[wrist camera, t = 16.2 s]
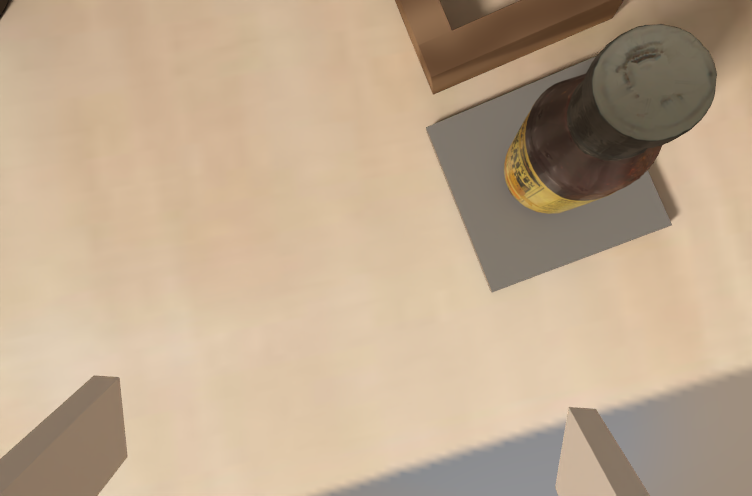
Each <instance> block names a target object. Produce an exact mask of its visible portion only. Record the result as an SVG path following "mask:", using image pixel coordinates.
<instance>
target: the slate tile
mask: <svg viewBox="0 0 752 496" xmlns="http://www.w3.org/2000/svg"><path fill="white" fill-rule="evenodd" d="M595 58H596V56H595V57H593V58H590V59H588V60H586V61H583V62H581V63H579V64H576V65H574V66H571V67H569V68H567V69H564V70H562V71H559V72H557V73H555V74H552V75H550V76H548V77H545V78H543V79H540V80H538V81H536V82H533V83H531V84H528V85H526V86H524V87H521V88H519V89H516V90H514V91H512V92H509V93H507V94H505V95H502V96H500V97H497V98H495V99H493V100H490V101H488V102H485V103H483V104H481V105H478V106H476V107H473V108H471V109H469V110H466V111H464V112H462V113H459V114H457V115H454V116H452V117H450V118H447V119H445V120H442V121H440V122H438V123H435V124H433V125H431V126H428V127H426V131H427V134H428V136H429V139H430V141H431V144H432V146H433V149H434V151H435V154H436V156H437V159H438V161H439V164H440V166H441V169H442V171H443V174H444V176H445V179H446V181H447V184H448V186H449V189H450V191H451V194H452V196H453V199H454V201H455V204H456V206H457V209H458V211H459V213H460V216H461V218H462V221H463V223H464V226H465V228H466V231H467V233H468V236H469V238H470V241H471V243H472V246H473V248H474V251H475V253H476V256H477V258H478V261H479V263H480V266H481V268H482V271H483V273H484V276H485V278H486V281H487V283H488V286H489V288H490V291H491V292H494V291H497V290H500V289H502V288H505V287H508V286H510V285H513V284H516V283H518V282H521V281H524V280H526V279H529V278H532V277H534V276H537V275H540V274H542V273H545V272H548V271H550V270H553V269H556V268H558V267H561V266H564V265H566V264H569V263H572V262H575V261H577V260H580V259H583V258H585V257H588V256H591V255H593V254H596V253H599V252H601V251H604V250H607V249H609V248H612V247H615V246H617V245H620V244H623V243H625V242H628V241H631V240H633V239H636V238H639V237H641V236H644V235H647V234H649V233H652V232H655V231H657V230H660V229H663V228H666V227H668V226H671V225H672V224H671V221H670V219H669V217H668V215H667V212H666V210H665V208H664V206H663V203H662V201H661V199H660V197H659V194H658V192H657V190H656V188H655V185H654V183H653V181H652V179H651V176H650V174H649V172H648V170H647V172H645V173H644V175H642V176H641V177H640V179H638V180H636V181H634V182H633V183H632V184H630V185H628V186H627V187H625V188H622V189H620V190H618V191H616V192H615V193H613V194H611V195H609V196H606V197H603V198H601V199H598V200H595V201H593V202H590V203H587V204H585V205H582V206H579V207H576V208H573V209H570V210H567V211H564V212H561V213H551V214H548V213H541V212H536V211H534V210H531V209H529V208H527V207H525V206H524V205H522V204H521V203H520V202H519V201H518V200H517V199H516V198H515V197H514V196H512V195H511V193H510V191H509V189H508V186H507V184H506V181H505V175H504V163H505V158H506V154H507V152H508V149H509V147H510V145H511V144H512V142H513V140H514V138H515V137H516V135H517V133H518V131H519V129H520V127H521V126H522V124H523V122H524V120H525V118H526V117H527V115H528V114H529V112H530V110H531V108H532V106H533V105H534V103H535V102H536V100H537V99H538V98H539V97H540V95H541V94H542V93H543V92H544V91H545V90H547V89H548V88H549V87H551V86H552V85H554V84H556V83H558V82H561V81H564V80H567V79H570V78H573V77H576V76H579V75H582V74H586V73H587V71H588V69H589V67H590V65H591V63H592V62H593V60H594V59H595Z"/></svg>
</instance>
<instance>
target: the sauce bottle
mask: <svg viewBox="0 0 752 496" xmlns="http://www.w3.org/2000/svg"><path fill="white" fill-rule="evenodd" d="M716 76H717V73H716V68H715V64H714V61H713V59H712V57H711V55H710V53H709V51H708V50H707V49H706V48H704V47H703V45H702V44H701V42H700V41H699V40H698V39H696V38H695V37H694V36H693V35H692V34H691V33H689V32H687V31H684V30H682V29H680V28H677V27H672V26H667V25H663V24H659V25H644V26H639V27H636V28H634V29H631V30H629V31H627V32H625V33H623V34H621V35H620V36H618V37H617V38H616V39H614V40H613V41H612V42H610V43H609V44H607V45H606V47H605V48H604V49H603V50H602V51H601V52H600V53H599V54H598V55H597V56H596V58H595V59H594V60H593V62H592V63H591V65H590V67H589V69H588V71H587V73H586V74H582V75H579V76H576V77H573V78H570V79H567V80H564V81H561V82H558V83H556V84H554V85H552V86H551V87H549V88H548V89H547V90H545V91H544V92H543V93H542V94H541V95H540V97H539V98H538V99H537V100H536V102H535V103H534V105H533V106H532V108H531V110H530V112H529V114H528V115H527V117H526V118H525V120H524V122H523V124H522V126H521V127H520V129H519V131H518V133H517V135H516V137H515V138H514V140H513V142H512V144H511V145H510V147H509V149H508V152H507V154H506V158H505V163H504V175H505V181H506V184H507V186H508V189H509V191H510V193H511V195H512V196H514V197H515V198H516V199H517V200H518V201H519V202H520V203H521V204H522V205H524V206H525V207H527V208H529V209H531V210H534V211H536V212H541V213H548V214H551V213H561V212H564V211H567V210H570V209H573V208H576V207H579V206H582V205H585V204H587V203H590V202H593V201H595V200H598V199H601V198H603V197H606V196H609V195H611V194H613V193H615V192H616V191H618V190H620V189H622V188H625V187H627V186H628V185H630V184H632V183H633V182H634V181H636V180H638V179H640V177H641V176H642V175H644V173H645V172H647V170H648V169H649V168H650V166H651V165H652V164H653V163H654V161H655V159H656V158H657V156H658V154H659V152H660V150H661V147H662V145H664V144H665V143H669V142H670V141H672V140H674V139H676V138H678V137H679V136H681V135H683V134H684V133H686V132H688V131H689V130H691V129H692V128H693V127H694V126H695V125H696V124H697V123H698V122H699V121H700V120H701V119H702V118H703V117H704V115H705V114H706V113H707V111H708V109H709V108H710V106H711V104H712V101H713V99H714V95H715V86H716Z"/></svg>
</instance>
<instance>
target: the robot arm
mask: <svg viewBox="0 0 752 496" xmlns="http://www.w3.org/2000/svg"><path fill="white" fill-rule="evenodd" d="M7 2H8V0H0V15H1V13H2V12H3V10H4V8H5V6H6V4H7ZM126 458H127V447H126V437H125V428H124V418H123V408H122V398H121V389H120V379H119V377H107V376H93V377H92V378H91V379H90V380H88V381H87V382H86V383H85V384H84V385H83V386H82V387H81V388H79V389H78V390H77V391H76V392H75V393H74V394H73V395H72V396H71V397H69V398H68V399H67V400H66V401H65V402H64V403H63V404H62V405H60V406H59V407H58V408H57V409H56V410H55V411H54V412H53V413H51V414H50V415H49V416H48V417H47V418H46V419H45V420H44V421H42V422H41V423H40V424H39V425H38V426H37V427H36V428H35V429H34V430H32V431H31V432H30V433H29V434H28V435H27V436H26V437H25V438H23V439H22V440H21V441H20V442H19V443H18V444H17V445H16V446H14V447H13V448H12V449H11V450H10V451H9V452H8V453H7V454H6V455H4V456H3V457H2V458H1V459H0V496H97V495H98V494H99V493H100V492H101V490H102V489H103V488H104V486H105V485H106V484H107V483H108V481H109V480H110V479H111V477H112V476H113V475H114V473H115V472H116V471H117V470H118V468H119V467H120V466H121V464H122V463H123V462H124V461H125V459H126ZM555 488H556V490H557V493H558V496H650V495H649V493H648V492H647V490H646V488H645V487H644V485H643V484H642V482H641V481H640V479H639V477H638V476H637V474H636V473H635V471H634V469H633V468H632V466H631V464H630V463H629V461H628V460H627V458H626V457H625V455H624V453H623V452H622V450H621V448H620V447H619V445H618V444H617V442H616V440H615V439H614V437H613V436H612V434H611V433H610V431H609V429H608V428H607V426H606V424H605V423H604V421H603V420H602V418H601V416H600V415H599V413H598V412H597V410H596V409H588V408H573V407H569V409H568V415H567V420H566V426H565V432H564V439H563V444H562V451H561V456H560V462H559V468H558V474H557V480H556V486H555Z"/></svg>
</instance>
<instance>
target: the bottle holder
mask: <svg viewBox="0 0 752 496" xmlns="http://www.w3.org/2000/svg"><path fill="white" fill-rule="evenodd" d="M395 2H396V4H397V7H398V9H399V11H400V14H401V16H402V19H403V21H404V24H405V26H406V29H407V31H408V34H409V36H410V39H411V41H412V44H413V46H414V48H415V51H416V53H417V56H418V58H419V61H420V63H421V66H422V68H423V71H424V73H425V76H426V78H427V80H428V83H429V85H430V88H431V90H432V93H433V94H435V93H438V92H440V91H442V90H445V89H447V88H449V87H452V86H454V85H456V84H459V83H461V82H464V81H466V80H468V79H471V78H473V77H475V76H478V75H480V74H482V73H485V72H487V71H489V70H492V69H494V68H496V67H499V66H501V65H503V64H506V63H508V62H510V61H513V60H515V59H518V58H520V57H522V56H525V55H527V54H529V53H532V52H534V51H536V50H539V49H541V48H543V47H546V46H548V45H550V44H553V43H555V42H557V41H560V40H562V39H564V38H567V37H569V36H572V35H574V34H576V33H579V32H581V31H583V30H586V29H588V28H590V27H593V26H595V25H597V24H600V23H602V22H604V21H607V20H609V19H611V18H613V16H614V14H615V13H616V11H617V10H618V8H619V6H620V5H621V3H622V2H623V0H520V1H518V2H516V3H514V4H511V5H509V6H507V7H505V8H502V9H500V10H498V11H495V12H493V13H491V14H489V15H486V16H484V17H482V18H479V19H477V20H475V21H473V22H470V23H468V24H466V25H464V26H461V27H459V28H457V29H454V30H451V27H450V25H449V22H448V20H447V18H446V15H445V13H444V10H443V8H442V6H441V3H440V1H439V0H395Z"/></svg>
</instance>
